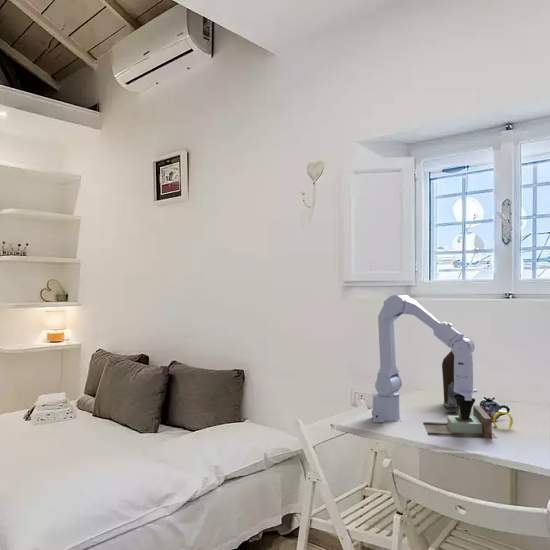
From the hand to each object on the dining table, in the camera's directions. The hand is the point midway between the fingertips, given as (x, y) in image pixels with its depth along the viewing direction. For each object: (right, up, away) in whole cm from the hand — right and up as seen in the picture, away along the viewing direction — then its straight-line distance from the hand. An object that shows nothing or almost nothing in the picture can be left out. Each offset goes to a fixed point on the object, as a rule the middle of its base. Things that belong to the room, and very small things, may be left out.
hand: (464, 418), depth 166 cm
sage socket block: (0, -4, 0) cm, 4 cm away
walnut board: (-2, -4, 0) cm, 5 cm away
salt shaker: (+3, -5, +21) cm, 21 cm away
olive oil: (+10, -5, +34) cm, 36 cm away
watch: (+14, -5, +3) cm, 15 cm away
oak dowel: (0, -2, 0) cm, 2 cm away
